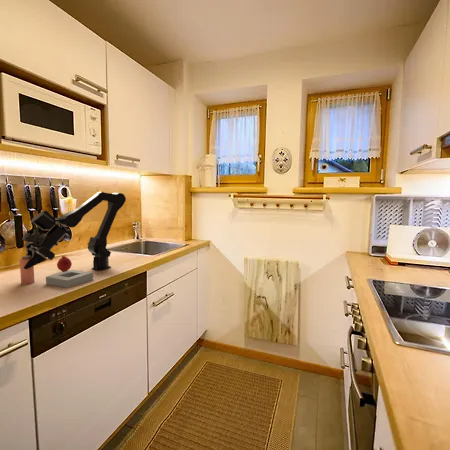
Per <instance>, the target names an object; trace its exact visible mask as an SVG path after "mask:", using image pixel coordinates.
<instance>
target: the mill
mask: <svg viewBox="0 0 450 450" xmlns="http://www.w3.org/2000/svg"><path fill="white" fill-rule="evenodd" d="M30 258H31V256H26V255H22V256H21V258H19V270H20V271H19V272H20V284H21V285H22V286H23V285H26V286H27V285H32V284H34V283H35V267H34V266H35V265H34V266H32V267H30V268H28V269H24V266H25V265H26V263H27V262H28V261H29V260H30Z"/></svg>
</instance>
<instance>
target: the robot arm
mask: <svg viewBox="0 0 450 450" xmlns="http://www.w3.org/2000/svg"><path fill="white" fill-rule="evenodd" d="M126 200H127V198H126V196H125V194H124V193H121V192H112V193H109V192H104V191H98V192H96V193H95V194H93V196H91V197H90V198H88V199H87V200H86V201H85V202H83V203H82V204H80V205H79V206H78V207H77V208H75V209H72V210H70V211H68V212H66V213H64V214H62V215H61V216H59V217H54V216H53V215H52V214H51V213H49V212H48V210H45V209H44V210H42V211H41V212H39V213H37V214H36V215H34V216H33V217H32V219H31V220H30V221H31V223H32V224H34V225H35V226H36V227H38V228H39V229H40V230H42V231H47V232H46V233H45V234H40V233H37V232H33V233H32V234H31V233H29V232H24V234H23V237H21V241H25V242H26V243H25V244H24V245H23V246H24V247H25V250H26V254H25V256H31V258H30V260H29V261H28V262H27V263H26V265H25V266H24V269H28V268H30V267H32V266H36V265H38V264H41V263H43V262H45V261H48V260H50V261H52V260H53V259H54V258H56V253H54V252H53V251H52V249H53V248H54V247H56V246H57V247H58V245H59V244H58V243H59V241H60V240H62V238H64V236H67V237H71V236H72V229H67V228H74V227H76V226H78V224H79V223H80V222H81V221H82V220H83V217H84V216H86V214H88V213H89V212H90V211H92V210H93V209H94V208H95V207H97V206H98V205H99V204H101V203H103V201H104V202H107V208H106V209H107V210H106V211H105V215H104V217H103V219H102V221H101V223H100V225H99V229H98V231H97V232H96V234H95V236H90V238H89V241H88V243H86V244H87V250H88V251H89V253H90V254H91V255H92V256H93V261H92V262H93V263H92V265H93V266H92V267H91V269H92V270H95V271H103V270H106V269H110V268H112V266H111V265H109V258H110V257H111V254H112V252H111V251H110V250H108V248H107V245H108V240H107V238H108V235H109V234H110V231H111V228H112V225H113V223H114V220H115V219H116V216H117V214H118V212H119V210H121V209H122V207H123V206H124V205H125V202H126ZM58 224H59V225H58Z"/></svg>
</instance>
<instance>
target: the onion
mask: <svg viewBox="0 0 450 450" xmlns="http://www.w3.org/2000/svg"><path fill="white" fill-rule="evenodd" d="M72 264H73V263H72V260H71V259H70V258H69V257H67V256H65V255H63V254H62V257H61V258H59V259H58V261H57V263H56V267H57V269H58V270H59V271H61V272H65V271H69V270H71V267H72V266H73V265H72Z"/></svg>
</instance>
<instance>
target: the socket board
mask: <svg viewBox="0 0 450 450" xmlns="http://www.w3.org/2000/svg"><path fill="white" fill-rule="evenodd" d="M92 280H94V272H91V271H84V270H78V269H69V270H68V271H65V272H62V271H61V272H59V273H58V272H57V273H55V274H51V275H47V276H45V284H46V285H49V286H54V287H55V286H56V287H60V288H65V289H69V288H72V287H75V286H77V285H81V284H83V283H87V282H89V281H92Z"/></svg>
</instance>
